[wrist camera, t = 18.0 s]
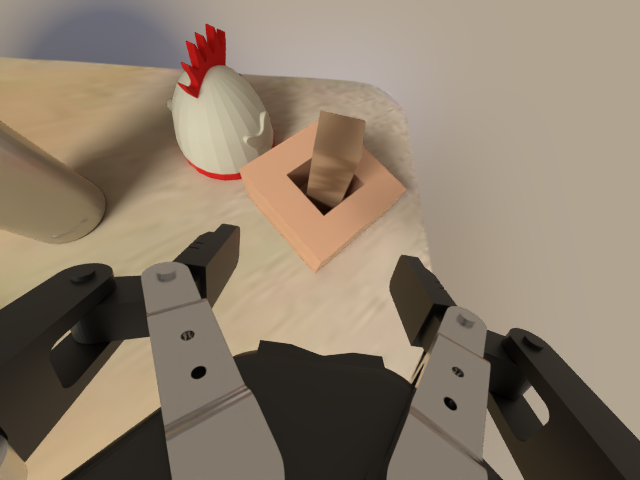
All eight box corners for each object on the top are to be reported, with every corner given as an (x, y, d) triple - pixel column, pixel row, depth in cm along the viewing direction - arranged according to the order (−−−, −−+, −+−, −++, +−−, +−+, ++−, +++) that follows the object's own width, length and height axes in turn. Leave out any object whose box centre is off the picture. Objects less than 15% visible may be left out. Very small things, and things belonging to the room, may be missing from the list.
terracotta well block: (248, 196, 35) (238, 169, 29) (323, 146, 40) (329, 112, 33) (314, 273, 33) (321, 262, 26) (386, 211, 37) (407, 189, 31)
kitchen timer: (288, 129, 40) (288, 27, 26) (247, 194, 36) (220, 114, 21) (213, 95, 40) (173, -25, 26) (163, 156, 36) (81, 50, 22)
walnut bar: (303, 212, 35) (313, 148, 21) (308, 186, 36) (320, 110, 23) (333, 218, 35) (361, 158, 22) (337, 191, 36) (365, 120, 23)
